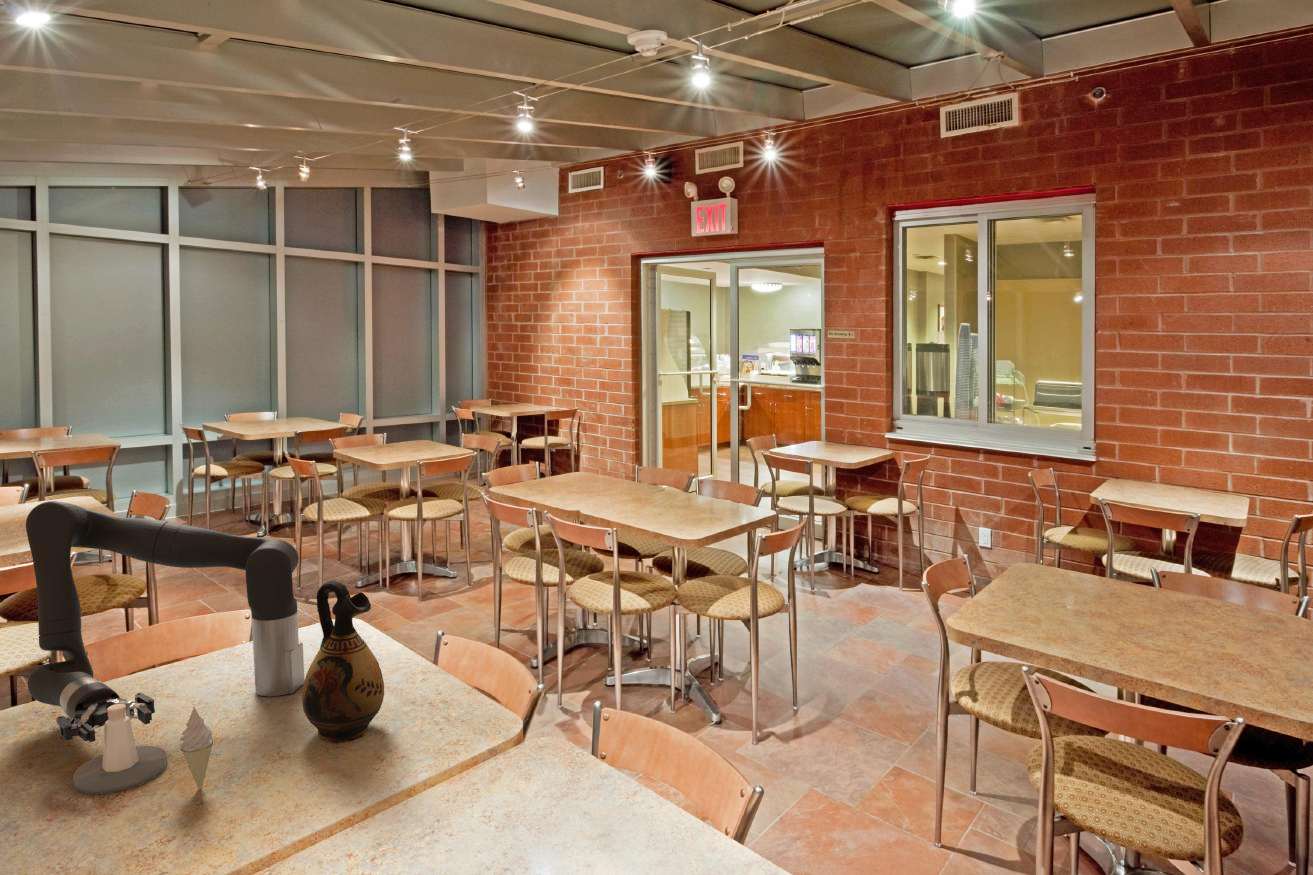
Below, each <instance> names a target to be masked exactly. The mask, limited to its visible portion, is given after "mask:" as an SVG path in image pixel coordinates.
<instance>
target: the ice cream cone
mask: <svg viewBox="0 0 1313 875" xmlns="http://www.w3.org/2000/svg"><path fill="white" fill-rule="evenodd" d="M185 725H186V727H187V728H186V729H185V730H184V731H182V732H181V733H180V734H182V735H183V736H181V737H180V738H179V741H180V742H182V743H181V744H179V747H180V749H179V750H180V752H182V754H183V757H184V759H185V761H186V764H187V765H188V769H189V771H190V773H191V775H192V778H193V780H194V782H195V784H196V787H197V789H198V790H199V791H200V790H202V789H203V785H204V781H205V777H206V773H207V770H208V765H209V762H210V757H211V754H212V748H213V745H214V743H215V740H214V739H213V730H212V729H211V728H210V726H207V725H206V724H205V720H204V719H203V717H201V716H200V714H199V712H198V711H197V709H196V707H195V706H193V708H192V711H191V714H190V716H189V718H188V720H187V722H186V724H185Z"/></svg>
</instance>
